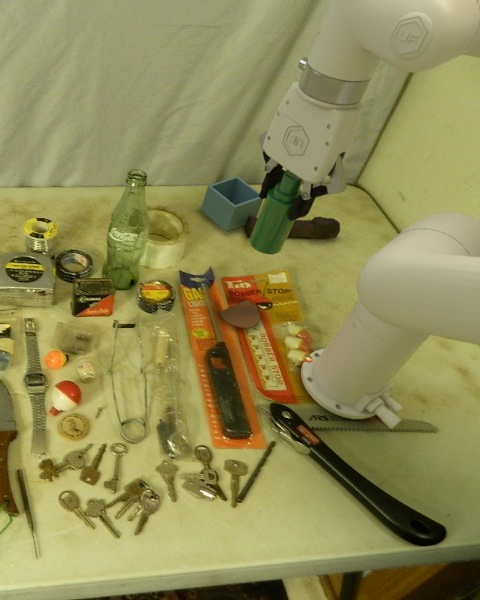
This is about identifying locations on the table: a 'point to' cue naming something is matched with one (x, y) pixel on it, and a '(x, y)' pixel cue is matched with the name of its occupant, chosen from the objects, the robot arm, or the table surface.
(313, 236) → the hand tool
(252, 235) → the bottle
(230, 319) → the coaster
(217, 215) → the blue open box
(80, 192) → the table surface
